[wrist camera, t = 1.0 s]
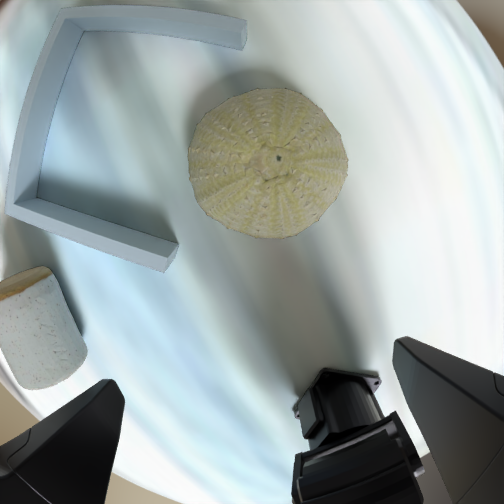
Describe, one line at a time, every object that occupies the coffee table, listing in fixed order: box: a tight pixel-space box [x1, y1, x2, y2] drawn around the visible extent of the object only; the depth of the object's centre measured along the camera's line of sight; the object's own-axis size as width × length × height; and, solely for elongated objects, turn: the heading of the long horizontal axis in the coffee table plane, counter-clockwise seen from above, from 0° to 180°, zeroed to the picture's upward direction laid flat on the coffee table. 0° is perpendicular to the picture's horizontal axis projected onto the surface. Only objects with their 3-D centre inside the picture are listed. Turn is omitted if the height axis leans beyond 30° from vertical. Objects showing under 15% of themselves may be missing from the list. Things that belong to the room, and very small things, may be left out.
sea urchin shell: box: [188, 88, 348, 239], centre depth 17 cm, size 9×8×8 cm
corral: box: [5, 5, 247, 273], centre depth 16 cm, size 14×16×3 cm
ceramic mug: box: [0, 266, 87, 390], centre depth 18 cm, size 11×8×8 cm
